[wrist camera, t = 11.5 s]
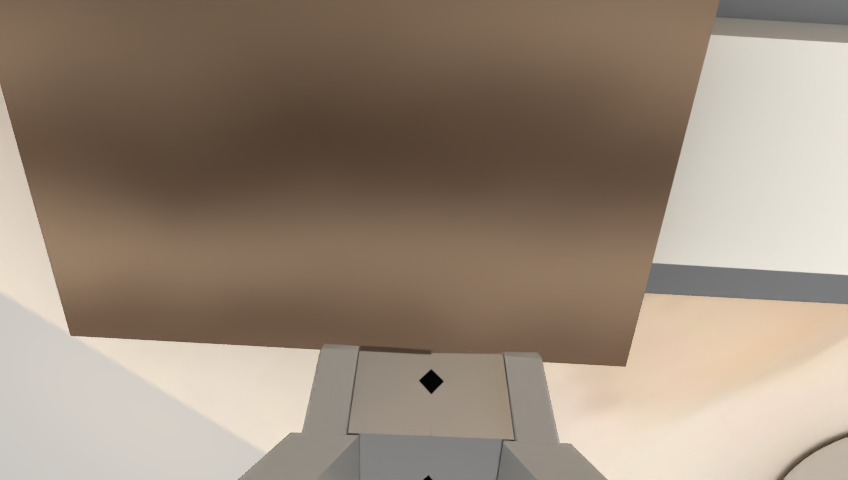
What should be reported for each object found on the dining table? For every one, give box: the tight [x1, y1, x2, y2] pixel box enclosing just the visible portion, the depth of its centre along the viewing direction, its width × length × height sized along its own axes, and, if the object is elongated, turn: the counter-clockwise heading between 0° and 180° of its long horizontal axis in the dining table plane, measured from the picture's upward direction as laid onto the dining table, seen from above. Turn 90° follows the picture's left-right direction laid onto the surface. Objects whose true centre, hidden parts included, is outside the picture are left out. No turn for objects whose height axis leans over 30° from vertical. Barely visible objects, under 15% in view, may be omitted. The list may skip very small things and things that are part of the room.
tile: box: [652, 17, 848, 275], centre depth 20 cm, size 7×9×2 cm
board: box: [0, 0, 720, 367], centre depth 20 cm, size 14×18×4 cm
